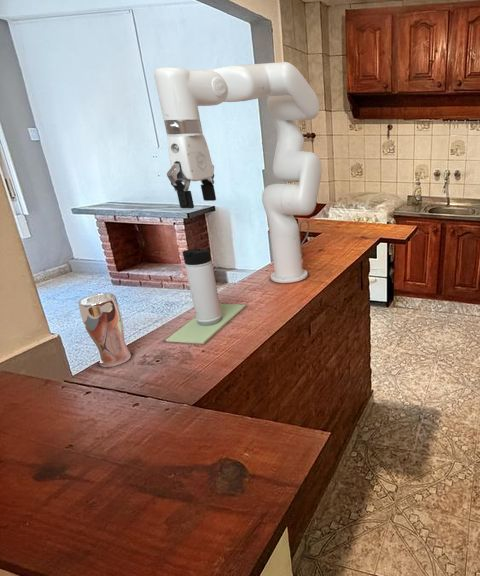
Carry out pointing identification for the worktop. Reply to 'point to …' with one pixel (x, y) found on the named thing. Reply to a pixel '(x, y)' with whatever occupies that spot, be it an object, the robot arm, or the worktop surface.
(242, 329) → the worktop surface
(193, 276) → the travel mug
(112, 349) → the beer glass
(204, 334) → the sage mat
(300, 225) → the glass holder
